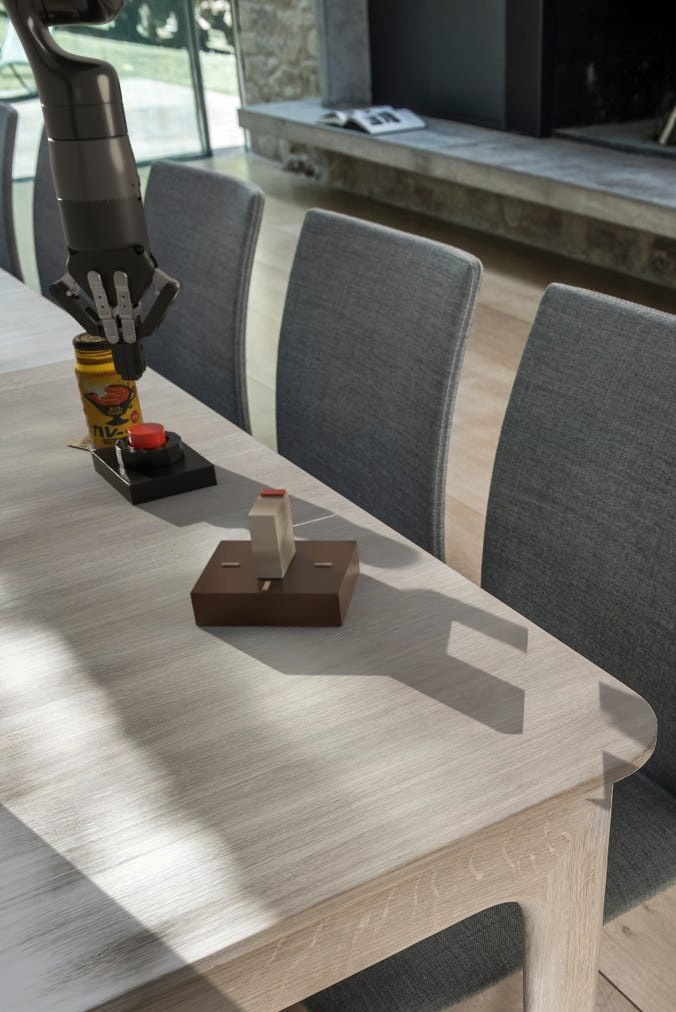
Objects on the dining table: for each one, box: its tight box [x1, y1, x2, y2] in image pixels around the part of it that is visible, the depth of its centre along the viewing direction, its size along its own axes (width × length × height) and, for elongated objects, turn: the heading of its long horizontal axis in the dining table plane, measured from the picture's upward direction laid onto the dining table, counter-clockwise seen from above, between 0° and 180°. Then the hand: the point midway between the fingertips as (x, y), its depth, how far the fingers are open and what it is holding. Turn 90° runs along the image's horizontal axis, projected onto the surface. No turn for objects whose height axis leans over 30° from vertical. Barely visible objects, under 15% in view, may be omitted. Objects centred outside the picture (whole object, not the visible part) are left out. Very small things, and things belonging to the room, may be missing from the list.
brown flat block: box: [189, 539, 361, 627], centre depth 96 cm, size 12×10×3 cm
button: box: [128, 422, 167, 448], centre depth 118 cm, size 4×4×2 cm
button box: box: [90, 430, 218, 506], centre depth 120 cm, size 12×9×4 cm
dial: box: [247, 488, 296, 578], centre depth 94 cm, size 5×2×6 cm, turn 176°
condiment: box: [64, 331, 144, 452], centre depth 127 cm, size 7×8×12 cm
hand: (133, 378), depth 115 cm, fingers closed
